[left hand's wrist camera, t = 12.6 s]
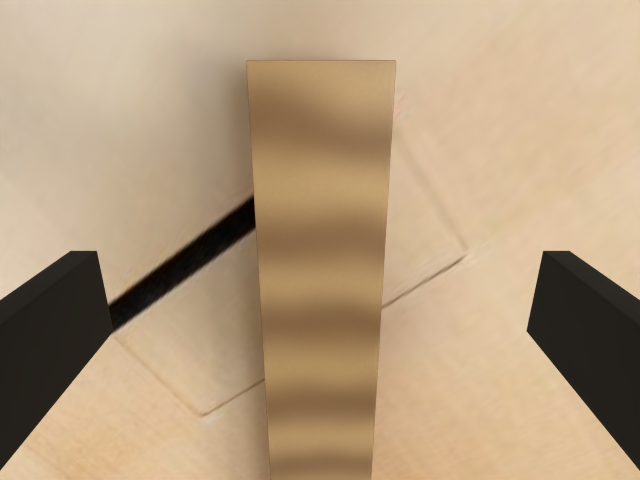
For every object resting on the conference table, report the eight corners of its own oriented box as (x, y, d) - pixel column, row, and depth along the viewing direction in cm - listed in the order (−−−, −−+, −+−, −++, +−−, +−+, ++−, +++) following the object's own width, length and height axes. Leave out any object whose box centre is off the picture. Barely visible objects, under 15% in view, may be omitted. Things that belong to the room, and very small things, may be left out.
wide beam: (261, 63, 32) (245, 60, 25) (379, 63, 32) (396, 60, 25) (283, 528, 51) (277, 600, 44) (358, 528, 51) (364, 600, 44)
